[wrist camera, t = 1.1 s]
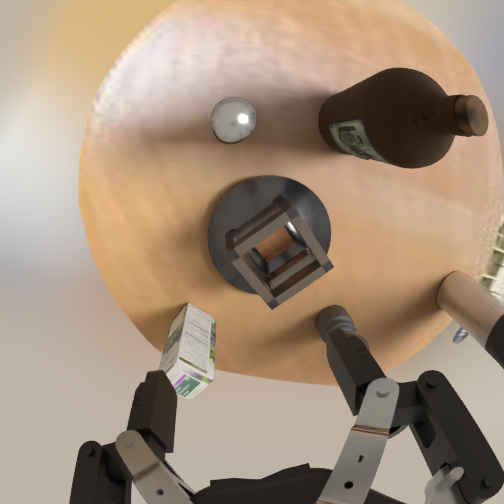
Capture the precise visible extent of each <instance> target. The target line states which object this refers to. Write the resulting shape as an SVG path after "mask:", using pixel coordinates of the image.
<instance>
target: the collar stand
mask: <svg viewBox="0 0 504 504" xmlns="http://www.w3.org/2000/svg"><path fill="white" fill-rule="evenodd" d="M330 241H331V225H330V220H329V216H328V214H327V211H326V209H325V207H324V205H323V203H322V202H321V200H320V199H319V198H318V196H317V195H316V194H315V193H314V192H313V191H311V190H310V189H309V188H308V187H306V186H305V185H303V184H301V183H299V182H297V181H295V180H292V179H290V178H287V177H282V176H275V175H267V176H259V177H255V178H251V179H248V180H246V181H244V182H242V183H240V184H238V185H237V186H235V187H233V188H232V189H231V190H230V191H229V192H227V193H226V195H225V196H224V197H223V198H222V199H221V200H220V202H219V203H218V205H217V206H216V208H215V210H214V212H213V214H212V217H211V220H210V225H209V230H208V247H209V252H210V256H211V258H212V261H213V263H214V265H215V267H216V269H217V270H218V271H219V273H220V274H221V275H222V276H223V277H224V278H225V279H226V280H227V281H228V282H229V283H231V284H232V285H233V286H235V287H237V288H239V289H241V290H243V291H246V292H249V293H252V294H258V295H260V297H261V298H262V299H263V300H264V301H265V302H266V304H267V305H268V306H269V307H270V308H271V309H272V310H273V309H274V308H276V307H277V306H279V305H280V304H282V303H283V302H285V301H286V300H288V299H289V298H291V297H292V296H294V295H295V294H297V293H298V292H299V291H301V290H302V289H304V288H305V287H307V286H308V285H310V284H311V283H313V282H314V281H315V280H317V279H318V278H320V277H321V276H323V275H324V274H325V273H327V272H328V271H330V270H331V269H332V268H334V266H333V265H332V263H331V261H330V260H329V258H328V257H327V253H328V250H329V246H330Z"/></svg>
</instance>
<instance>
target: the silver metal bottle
mask: <svg viewBox="0 0 504 504" xmlns="http://www.w3.org/2000/svg"><path fill="white" fill-rule="evenodd" d="M256 121H257V116H256V112H255V109H254V108H253V106H252V105H251V104H250V103H249V102H248V101H246V100H244V99H242V98H238V97H230V98H226V99H223V100H222V101H220V102H219V103H218V104H217V105H216V106H215V107H214V109H213V111H212V114H211V124H212V127H213V131H214V134H215V136H216V137H217V138H218V139H219V140H220V141H221V142H223V143H226V144H235V143H238V142H240V141H242V140H243V139H244V138H245V137H246V136H248V135H249V134H250V133H251V132H252V131H253V129H254V128H255V125H256Z"/></svg>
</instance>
